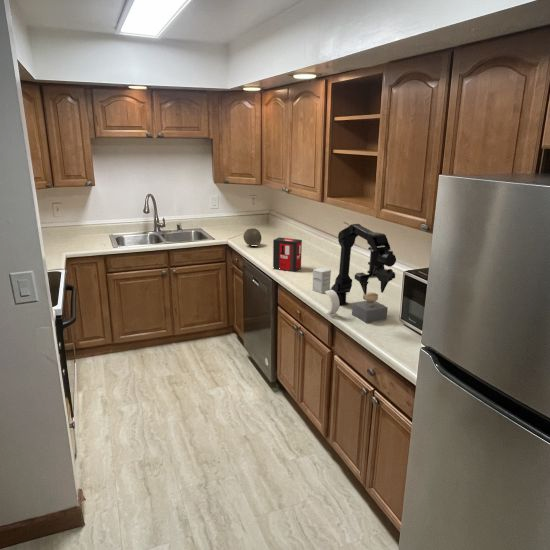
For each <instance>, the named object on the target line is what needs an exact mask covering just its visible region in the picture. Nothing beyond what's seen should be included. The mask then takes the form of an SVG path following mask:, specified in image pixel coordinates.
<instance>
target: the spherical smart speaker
mask: <svg viewBox="0 0 550 550" xmlns="http://www.w3.org/2000/svg"><path fill="white" fill-rule="evenodd" d="M242 238H243V240H244V243H245V244H247V245H248V244H249V245H258V246H260V245H261V242H262V234H261V232H260V231H259V229H257V228H255V227H254V228H253V227H251V228H248V229H246V230H245V231H244V233H243V237H242ZM249 245H248V246H249Z"/></svg>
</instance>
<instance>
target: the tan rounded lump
mask: <svg viewBox="0 0 550 550" xmlns="http://www.w3.org/2000/svg"><path fill="white" fill-rule="evenodd" d="M362 299H363V301H367V303H366V305H367V306H373V304H374V301H376V302H377V301H378V300H379V294H378V293H375V292H371V291H370V292H368V291H367V293H366V295H365V294H364V293H363V295H362Z"/></svg>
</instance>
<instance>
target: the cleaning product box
mask: <svg viewBox="0 0 550 550" xmlns="http://www.w3.org/2000/svg"><path fill="white" fill-rule="evenodd" d="M272 240H273V242H272V243H273V244H272V245H273V246H272V247H273V248H272V251H273V252H272V253H273V254H272V255H273V256H272V270H277V271H284V272H291V273H297V272H299V271H300V270H301V269H302V251H303V250H302V249H303V248H302V245H303V243H302V242H303V241H302V239H297V238H289V237H288V238H287V237H280V236H279V237H277V238H274V239H272ZM273 267H274V268H273ZM279 268H280V269H279Z"/></svg>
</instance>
